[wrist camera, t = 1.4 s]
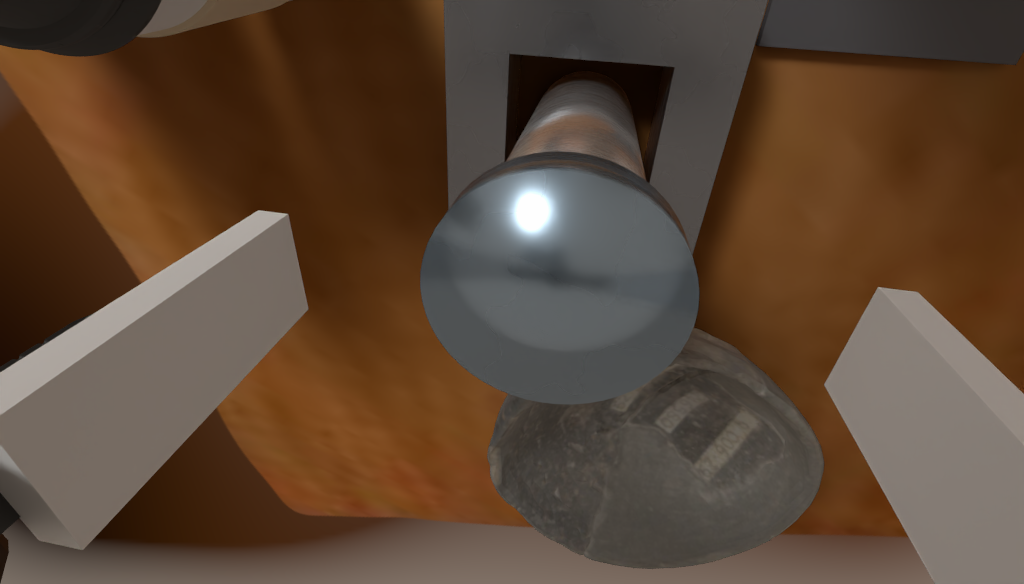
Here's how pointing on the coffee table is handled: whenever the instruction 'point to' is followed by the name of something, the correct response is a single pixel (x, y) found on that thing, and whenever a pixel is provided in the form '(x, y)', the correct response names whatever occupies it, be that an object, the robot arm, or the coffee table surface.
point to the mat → (900, 28)
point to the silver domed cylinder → (564, 258)
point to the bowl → (662, 463)
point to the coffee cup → (110, 21)
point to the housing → (612, 38)
